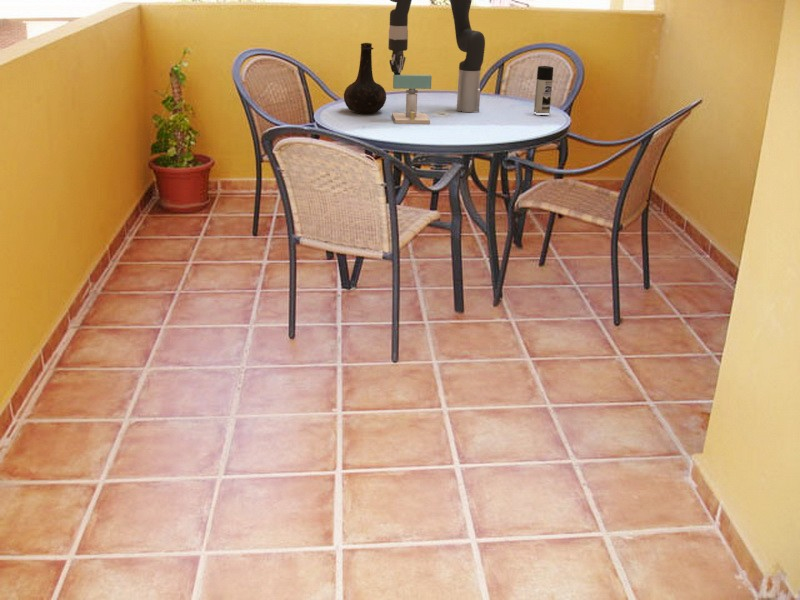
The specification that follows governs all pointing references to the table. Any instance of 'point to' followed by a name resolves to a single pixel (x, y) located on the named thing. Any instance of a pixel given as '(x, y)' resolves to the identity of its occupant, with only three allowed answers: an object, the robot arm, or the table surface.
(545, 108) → the spray can
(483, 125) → the table surface
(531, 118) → the table surface
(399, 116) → the post base
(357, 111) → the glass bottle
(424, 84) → the pale green block
